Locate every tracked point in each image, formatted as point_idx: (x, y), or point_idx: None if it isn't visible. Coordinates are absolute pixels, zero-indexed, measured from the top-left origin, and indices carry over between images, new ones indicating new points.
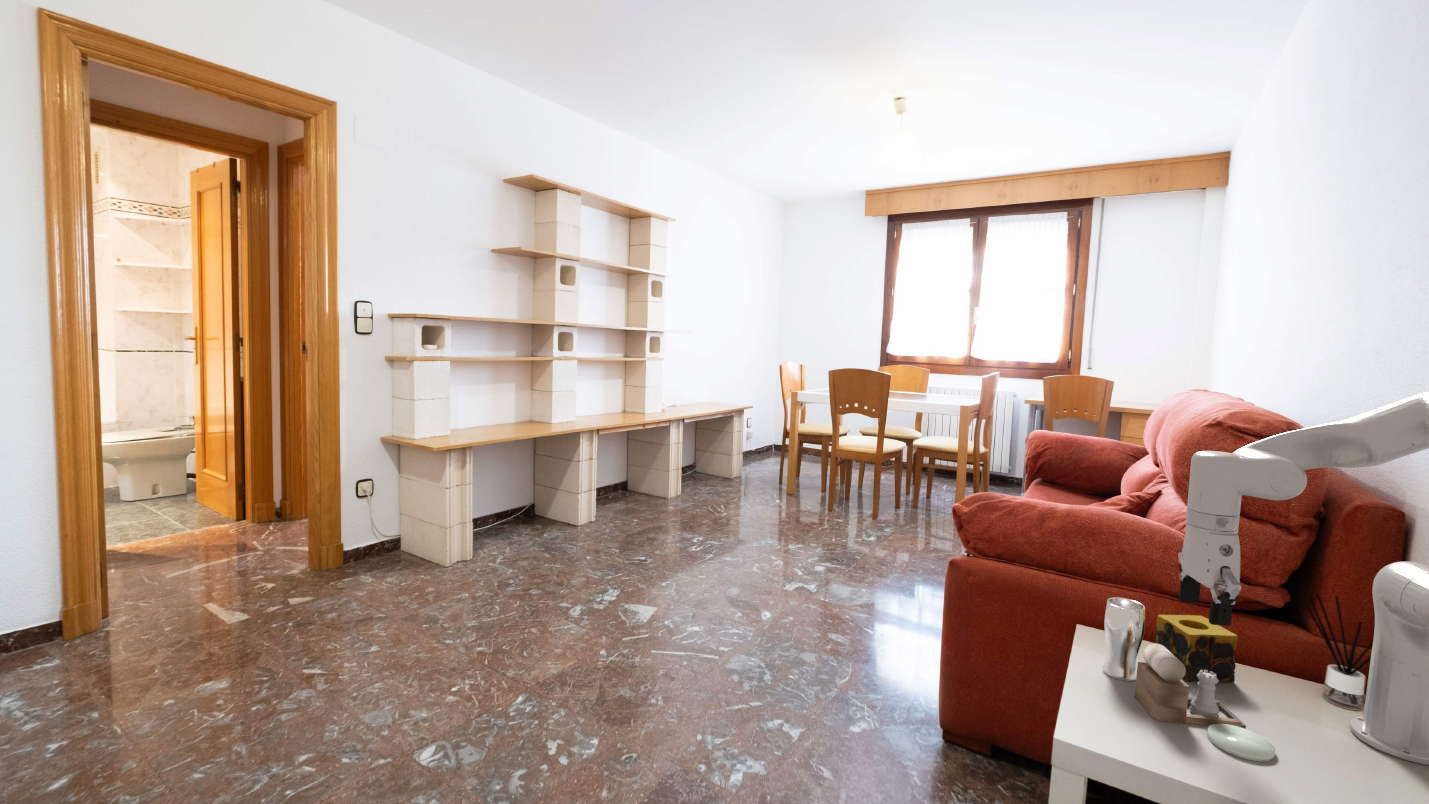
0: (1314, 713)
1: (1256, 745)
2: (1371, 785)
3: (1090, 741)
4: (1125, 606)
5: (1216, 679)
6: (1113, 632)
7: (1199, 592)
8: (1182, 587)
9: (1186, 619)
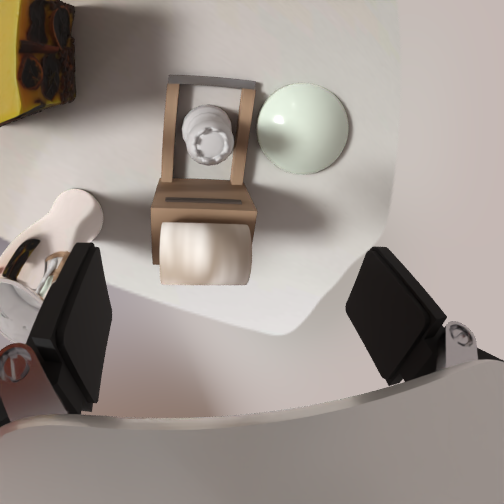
0: None
1: (323, 116)
2: (387, 22)
3: (291, 319)
4: None
5: (227, 131)
6: None
7: (79, 288)
8: (100, 380)
9: None
